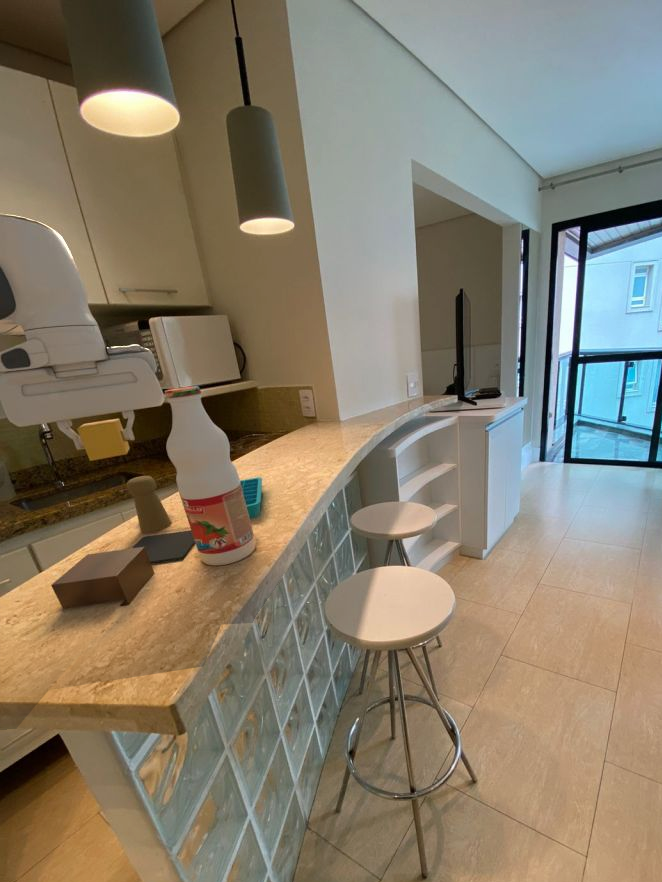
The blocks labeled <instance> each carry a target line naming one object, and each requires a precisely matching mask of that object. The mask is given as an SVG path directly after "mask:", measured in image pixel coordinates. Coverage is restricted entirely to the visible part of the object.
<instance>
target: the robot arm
mask: <svg viewBox="0 0 662 882" xmlns="http://www.w3.org/2000/svg"><path fill="white" fill-rule="evenodd" d="M88 303H89V302H88V293H87V289H86V287H85V284H84V281H83V279H82V276H81V273H80V271H79V268H78V266H77V263H76V261H75V259H74V257H73V254H72V253H71V250H70V248H69V247H68V245H67V243H66V242H65V240H64V238H63V237H62V235H61V234H60V233H58V232H57V231H56V230H54V228H51V227H50V226H49V225H47V224H44V223H42V222H40V221H37V220H35V219H31V218H27V217H24V216H18V215H14V214H6V213H0V335H3V336H4V335H5V336H13V337H18V338H24V339H26V341H23V342H21V343H19V344H17V345H14V346H11V347H10V348H7V349H4V350H2V351H0V372H2V373H1V374H0V403H1V406H2V408H3V411H4V413H5V416H6V418H7V420H8V421H9V422H10V423H11V424H13V425H15V426H16V427H19V428H22V427H28V426H35V425H42V424H43V425H44V424H50V423H56V426H57V428H58V430H59V431H61V432H62V433H63V434H65V436H67V437H68V438H70V440H72V442H73V443H74V446H75V448H76V450H77V451H80V450H84V449H85V447H84V445H83V442H82V440H81V437H80V435H79V433H77V432H76V431H75V430H73V429H72V428H71V427H72V426H73V422H72V420H75V419H82V418H89V417H94V416H95V417H96V416H102V415H109V414H115V413H121V415H122V417H123V419H124V420H126V419H127V422H126V426H125V428H123V429H121V431H120V432H121V435H122V436H123V440H124V442H125V441H127V442H130V441H135V435H134V432H133V425H134V422H135V417H136V415H135V412H134V410H135V411H136V410H141V409H142V410H143V409H148V408H154V407H161V406H162V405H163V404H164V403H165V400H166V397H165V393H164V391H163V388H162V385H161V384H160V383H161V382H160V381H159V379H158V377H157V375H156V373H157V371H158V364H157V361H156V358H155V355H154V353H153V352H152V351H151V350H150V349H148V348H146V347H144V346H141V345H139V344H130V345H127V346H126V345H123V346H110V347H109V346H108V347H107V346H106V344H105V341H104V338H103V335H102V333H101V329H100V327H99V324H98V322H97V321H96V318H95V317H94V316H93V314H92V312H91V310H90V307H89V304H88Z"/></svg>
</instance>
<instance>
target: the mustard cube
mask: <svg viewBox="0 0 662 882" xmlns="http://www.w3.org/2000/svg"><path fill="white" fill-rule="evenodd" d="M121 429H124V428H123V425H122V423H121V420H120V418H113V419H112V418H111V419H107V420H100V421H94V422H87V423H83V424H82V425H80V426H79V427H77V428H76V430H77V432H78V435H79V436H80V437H81V440H82V442H83V445H84V447H85V452H86V455H87V457H88V459H89V462H92V461H98V460H103V459H108V458H113V457H118V456H125V455H127V454H128V452H129V451H130V448H131V447H130V445H129V441H125V442H124V440H123V436H122V435H121V432H120V431H121Z"/></svg>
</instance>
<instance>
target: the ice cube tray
mask: <svg viewBox="0 0 662 882" xmlns="http://www.w3.org/2000/svg"><path fill="white" fill-rule="evenodd" d="M240 483H241V487H242V491H243V495H244V499H245V503H246V506H247V510H248V514H249V518H250V519H252V518H257V517H259V516H260V514H261V502H262V488H263V487H262V486H263V478H262V477H259V476H258V477H252V478H247V479H240Z"/></svg>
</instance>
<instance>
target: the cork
mask: <svg viewBox="0 0 662 882" xmlns="http://www.w3.org/2000/svg"><path fill="white" fill-rule="evenodd" d="M156 488H157V483H156V481H155V479H154V478H153V477H152V476H150V475H141V476H136V477H133V478H131V479H129V480H128V481H127V483H126V489H127V491H128V493H129V494H130V495H131V496H133V501H134V507H135V511H136V516H137V520H138V525H139V530H140V532H141V533H144V534H145V533H146V534H147V533H154V532H158V531H162V530H164V529H166V528H168V527H170V526H171V525H172V519H171V518H170V517H169V515H168V513H167V510H166V509H165V507H164V505H163V502H162V501H161V499H160V497H159V495H158V494H157V491H156Z"/></svg>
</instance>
